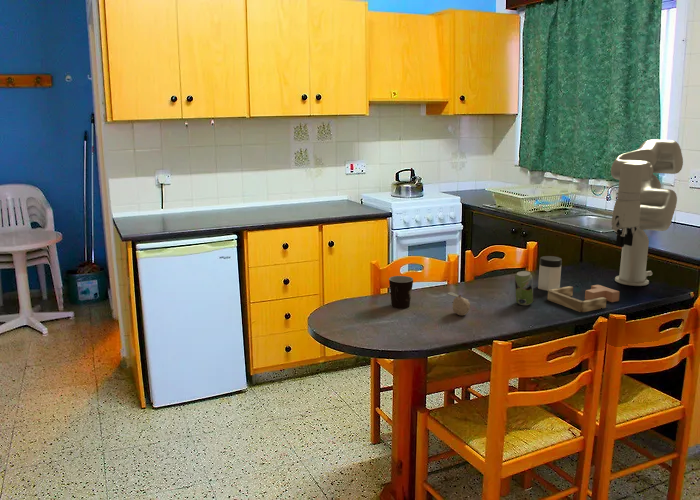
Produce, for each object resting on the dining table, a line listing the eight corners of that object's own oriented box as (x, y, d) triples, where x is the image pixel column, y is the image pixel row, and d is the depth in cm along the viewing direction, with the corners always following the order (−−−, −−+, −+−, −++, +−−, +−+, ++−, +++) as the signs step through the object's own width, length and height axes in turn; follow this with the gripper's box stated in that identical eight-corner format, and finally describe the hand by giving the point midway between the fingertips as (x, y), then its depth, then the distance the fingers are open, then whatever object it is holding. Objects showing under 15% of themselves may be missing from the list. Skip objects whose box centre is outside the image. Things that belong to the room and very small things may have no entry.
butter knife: (451, 291, 247) (445, 293, 245) (495, 309, 226) (488, 310, 225) (451, 292, 247) (445, 294, 245) (495, 310, 226) (488, 311, 225)
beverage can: (536, 303, 233) (538, 271, 230) (526, 308, 227) (528, 275, 225) (520, 300, 237) (522, 268, 234) (510, 304, 231) (512, 272, 229)
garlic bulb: (447, 313, 221) (448, 291, 220) (460, 310, 225) (461, 288, 223) (461, 318, 216) (462, 296, 214) (474, 315, 220) (475, 292, 218)
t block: (597, 293, 245) (597, 284, 244) (618, 300, 236) (619, 291, 235) (578, 297, 240) (578, 288, 239) (599, 304, 232) (600, 295, 231)
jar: (564, 288, 251) (567, 258, 248) (552, 292, 246) (555, 262, 243) (545, 283, 258) (547, 254, 255) (532, 287, 253) (534, 257, 250)
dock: (569, 294, 243) (569, 286, 242) (605, 307, 228) (606, 298, 227) (545, 299, 238) (546, 290, 237) (581, 312, 223) (582, 302, 222)
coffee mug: (399, 300, 236) (399, 274, 233) (417, 306, 230) (418, 279, 227) (377, 307, 228) (378, 280, 225) (396, 313, 222) (396, 285, 219)
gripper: (635, 194, 241) (630, 241, 246) (604, 196, 234) (599, 246, 238) (653, 196, 235) (647, 245, 239) (621, 199, 228) (616, 250, 232)
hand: (623, 245), depth 239 cm, fingers open, 3 cm apart
